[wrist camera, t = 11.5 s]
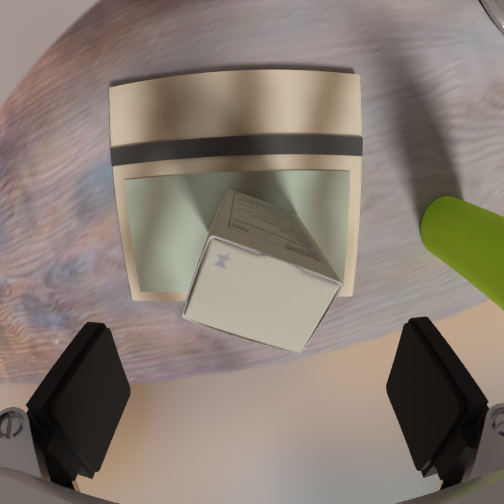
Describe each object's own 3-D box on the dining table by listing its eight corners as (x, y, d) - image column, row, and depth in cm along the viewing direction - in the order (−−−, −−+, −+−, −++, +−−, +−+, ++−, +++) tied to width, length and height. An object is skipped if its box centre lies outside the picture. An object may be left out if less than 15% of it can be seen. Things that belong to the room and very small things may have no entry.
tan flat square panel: (356, 76, 21) (360, 74, 20) (349, 292, 28) (352, 297, 27) (113, 88, 21) (108, 87, 20) (135, 296, 28) (132, 301, 27)
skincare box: (207, 236, 25) (171, 317, 13) (227, 185, 23) (201, 229, 12) (281, 264, 26) (301, 360, 14) (303, 216, 24) (346, 285, 13)
